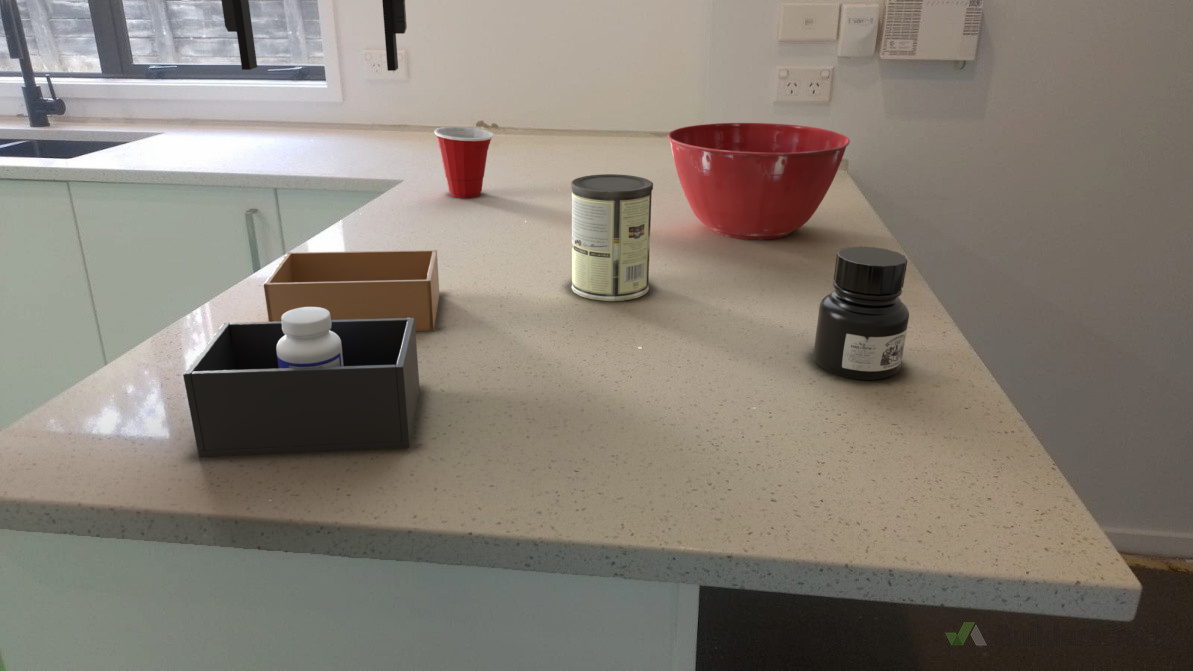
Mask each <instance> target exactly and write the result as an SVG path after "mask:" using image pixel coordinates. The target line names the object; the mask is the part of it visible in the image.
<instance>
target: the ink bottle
mask: <svg viewBox="0 0 1193 671" xmlns="http://www.w3.org/2000/svg"><path fill="white" fill-rule="evenodd" d="M834 265H835V266H834V272H833V283H832V286H833V290H832V291H831V292H830V293H829V294H827V295H825V296H824V297H823V298H822V299H821V301H820V304H819V308H818V315H817V323H816V331H815V339H814V347H813V359H814V361H815V363H816V364H817V365H819V366H820V367H821V368H823V369H824V370H827V371H828V372H831V373H833V374H835V375H837V376H841V377H845V378H849V379H854V380H864V381H866V380H868V381H869V380H879V379H885V378H889V377H891V376H893V375H895V374H897V373H898V372H899V371H900V369H901V366H902V361H903V356H904V351H905V350H904V349H905V345H906V339H907V338H906V337H907V333H908V327H909V326H908V325H909V320H910V312H909V309H908V308H907V306H906V304H905V303H904V302H903V301H902V300H901V298H900V296H901V295H902V294H903V288H904V284H905V278H906V272H907V266H908V259H907V257H906V255H903V254H902V253H900V252H898V251H895V250H891V249H888V248H881V247H875V246H862V245H861V246H848V247H844V248H840V249H839V250H838V251H837V252H836V258H835V264H834Z"/></svg>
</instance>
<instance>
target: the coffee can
mask: <svg viewBox="0 0 1193 671" xmlns="http://www.w3.org/2000/svg"><path fill="white" fill-rule="evenodd" d="M570 188H571V290H572V292H573V293H574V294H576V295H578V296H579V297H581V298H584V299H589V300H593V301H601V302H624V301H625V302H626V301H629V300H635V299H638V298H640V297H642V296H643V297H644V296H645V295H646V294H648V292H649V290H650V287H649V286H650V285H649V280H650V279H649V275H650V252H651V250H650V246H651V245H650V244H651V222H652V221H651V220H652V219H651V218H652V192H653V189H654V182H652V181H651V180H650V179H647V178H644V177H641V176H636V175H631V174H630V175H629V174H617V173H615V174H614V173H607V174H606V173H605V174H591V175H584V176H580V177H577V178H574V179H572V180H571V182H570Z"/></svg>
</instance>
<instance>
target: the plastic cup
mask: <svg viewBox="0 0 1193 671" xmlns="http://www.w3.org/2000/svg"><path fill="white" fill-rule="evenodd" d="M433 133H434V135H435V136H436V139H437V143H438V147H439V150H440V156H441V160H442V166H443V171H444V175H445V178H446V182H447V186H448V188H447V189H448V192H449V195H450V196H451V197H453V198H459V199H470V198H477V197H479V196H482V195H481V194H482V190H483V183H484V177H485V172H486V165H487V157H488V151H489V149H490V148H489V147H490V144H491V141H492V139H493V138H494V136H495V135H494V133H493V132H492V131H489V130H485V129H481V128H477V127H466V126H443V127H437V128H435V129H434V130H433Z"/></svg>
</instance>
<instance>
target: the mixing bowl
mask: <svg viewBox="0 0 1193 671" xmlns="http://www.w3.org/2000/svg"><path fill="white" fill-rule="evenodd" d="M667 138H668V140H669V142H670V147H671V148H670V149H671V152H672V153H671V154H672V157H673V161H674V166H675V169H676V172H677V173H676V174H677V176H678V179H679V182H680V183H679V184H680V186H681V188H682V191H683V194H684V197H685V199H686V200H687V203H688V204H689V207H690V209H691V211H692V212H693V214H694V216H695V217H696V218H697V220H698V221H700V223H702V224H703V225H704V226H706V227H708V228H709V229H710V230H711V231H712V232H714V233H716V234H718V235H720V236H723V237H727V238H728V237H729V238H733V239H739V240H753V241H755V240H756V241H757V240H760V241H761V240H774V239H781V238H784V237H787V236H789V235H790V234H791V233H792V232H794V231H797V230H798V229H800V228H802V227H803V226H804V225H805V224H806V223H808V221H809V220H810V219H811V218H812V217H813V215H814V214H815V212H816V211H817V210H818V208H819V207H820V205H821V203H822V202H823V200H824V199H825V196H826V195H827V193H828V192H829V190H830V188H831V186H832V184H833V182H834V179H835V177H836V176H837V173H838V170H839V168H840V166H841V163H842V161H843V158H844V155H845V152H846V149H847V147H848V146H849V145H850V142H851V140H850V138H849V137H848V136H846V135H844V134H843V133H840V132H836V131H833V130H829V129H826V128H820V127H815V126H807V125H799V124H788V123H787V124H785V123H771V122H770V123H769V122H722V123H721V122H719V123H705V124H695V125H688V126H683V127H679V128H676V129H672V130H671V131H670V132H668V133H667Z"/></svg>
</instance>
